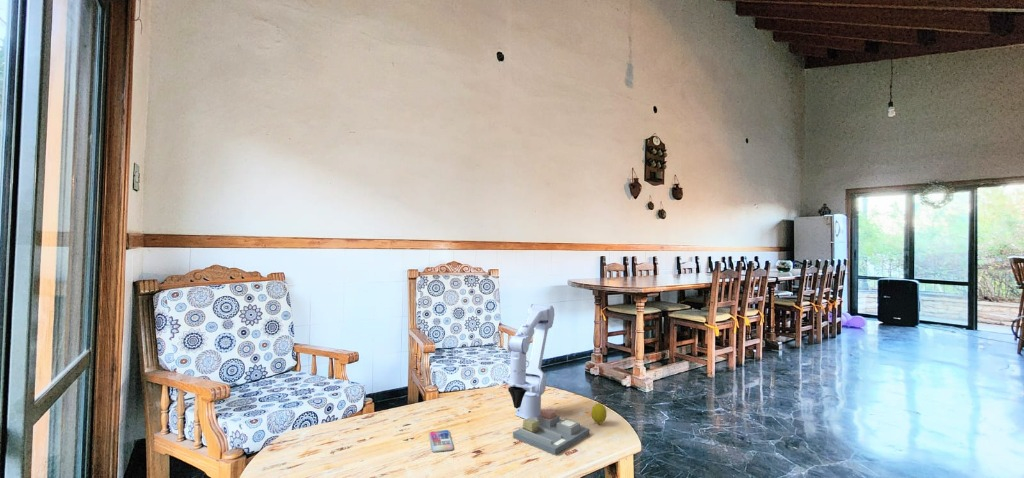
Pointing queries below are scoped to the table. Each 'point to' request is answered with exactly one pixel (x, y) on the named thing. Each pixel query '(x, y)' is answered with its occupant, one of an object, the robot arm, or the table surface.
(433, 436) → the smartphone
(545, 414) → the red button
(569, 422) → the cream button
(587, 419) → the table surface
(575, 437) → the panel
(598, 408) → the lemon
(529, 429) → the slider knob
